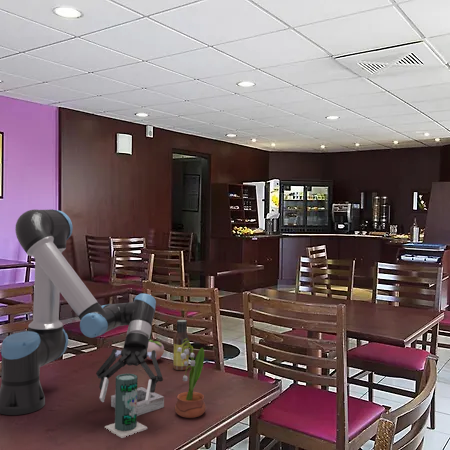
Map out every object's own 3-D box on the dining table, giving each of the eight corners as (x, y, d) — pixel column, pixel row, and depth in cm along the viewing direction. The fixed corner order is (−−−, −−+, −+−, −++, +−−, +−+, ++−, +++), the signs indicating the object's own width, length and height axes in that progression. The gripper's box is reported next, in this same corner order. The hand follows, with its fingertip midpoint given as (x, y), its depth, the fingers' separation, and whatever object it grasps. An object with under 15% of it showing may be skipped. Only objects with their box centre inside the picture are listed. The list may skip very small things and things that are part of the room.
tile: (121, 438, 146) (121, 436, 146) (104, 428, 153) (104, 426, 153) (147, 429, 153) (147, 427, 153) (129, 419, 159) (129, 417, 159)
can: (129, 432, 149) (130, 381, 148) (111, 428, 151) (112, 378, 151) (139, 424, 154) (140, 375, 154) (122, 420, 157) (123, 372, 156)
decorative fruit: (138, 362, 217) (138, 339, 217) (148, 357, 225) (149, 335, 224) (156, 366, 213) (157, 342, 213) (167, 360, 221) (167, 338, 220)
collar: (133, 417, 161) (133, 406, 161) (111, 406, 170) (111, 395, 169) (163, 407, 170) (164, 396, 170) (141, 396, 178) (141, 387, 178)
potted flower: (190, 425, 156) (191, 344, 155) (164, 417, 162) (165, 339, 161) (211, 412, 166) (213, 336, 166) (186, 405, 172) (188, 331, 171)
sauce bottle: (185, 371, 207) (186, 323, 206) (171, 370, 208) (172, 322, 208) (190, 366, 213) (191, 319, 213) (175, 365, 215) (176, 318, 214)
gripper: (177, 345, 166) (167, 408, 152) (102, 342, 168) (86, 404, 154) (174, 333, 161) (164, 397, 146) (97, 330, 163) (79, 393, 148)
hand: (124, 401), depth 150 cm, fingers open, 13 cm apart
